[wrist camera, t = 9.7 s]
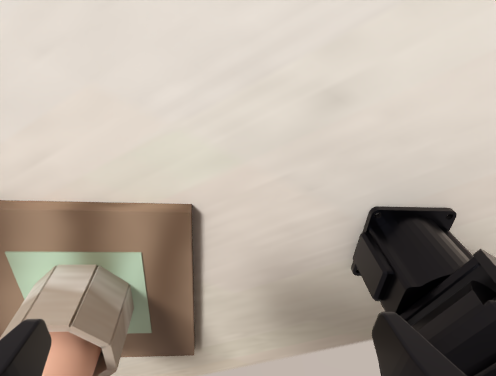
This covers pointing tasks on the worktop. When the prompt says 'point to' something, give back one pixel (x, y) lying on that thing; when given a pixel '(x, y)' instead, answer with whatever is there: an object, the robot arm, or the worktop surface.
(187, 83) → the worktop surface
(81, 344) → the terracotta peg
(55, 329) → the tube board
